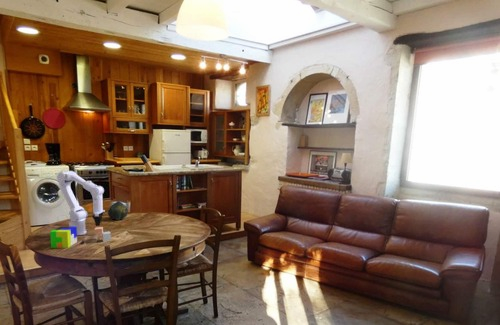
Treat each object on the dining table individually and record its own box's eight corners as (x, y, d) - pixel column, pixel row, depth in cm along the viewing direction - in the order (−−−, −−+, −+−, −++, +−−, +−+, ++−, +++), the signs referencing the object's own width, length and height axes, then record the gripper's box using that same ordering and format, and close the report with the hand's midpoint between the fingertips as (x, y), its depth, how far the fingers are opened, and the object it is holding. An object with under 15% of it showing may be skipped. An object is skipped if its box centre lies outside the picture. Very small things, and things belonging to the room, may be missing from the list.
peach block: (94, 236, 199) (94, 229, 199) (95, 234, 203) (95, 227, 203) (102, 235, 201) (101, 228, 200) (103, 233, 205) (102, 226, 204)
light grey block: (103, 242, 189) (103, 234, 189) (102, 240, 193) (101, 232, 192) (110, 240, 192) (110, 233, 191) (109, 238, 195) (109, 231, 195)
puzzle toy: (77, 242, 189) (76, 226, 188) (68, 247, 179) (67, 231, 178) (61, 242, 189) (60, 226, 188) (51, 247, 179) (50, 231, 178)
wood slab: (84, 244, 186) (83, 239, 186) (86, 240, 192) (86, 235, 192) (96, 243, 188) (96, 238, 188) (98, 239, 195) (98, 234, 194)
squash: (108, 216, 229) (121, 200, 236) (101, 213, 240) (113, 197, 246) (123, 225, 238) (134, 209, 244) (115, 222, 248) (126, 207, 254)
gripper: (103, 206, 195) (103, 226, 196) (105, 201, 208) (106, 220, 210) (91, 207, 192) (91, 227, 194) (94, 202, 206) (95, 221, 207)
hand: (98, 224), depth 201 cm, fingers open, 7 cm apart
